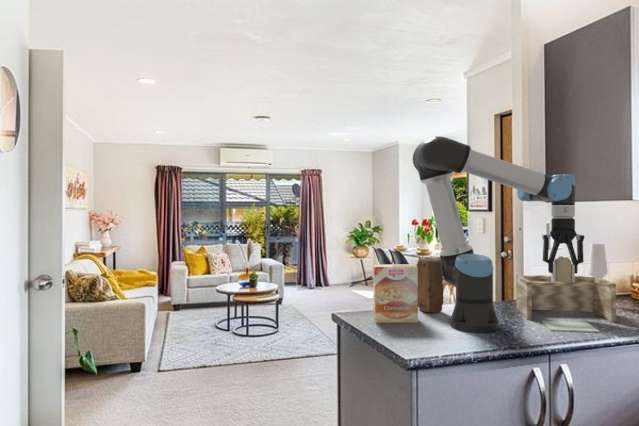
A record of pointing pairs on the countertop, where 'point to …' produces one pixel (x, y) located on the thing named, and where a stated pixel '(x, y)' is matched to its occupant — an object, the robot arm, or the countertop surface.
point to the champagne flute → (597, 260)
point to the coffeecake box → (395, 293)
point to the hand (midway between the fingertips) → (562, 282)
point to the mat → (569, 326)
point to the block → (430, 285)
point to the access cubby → (566, 295)
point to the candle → (563, 269)
